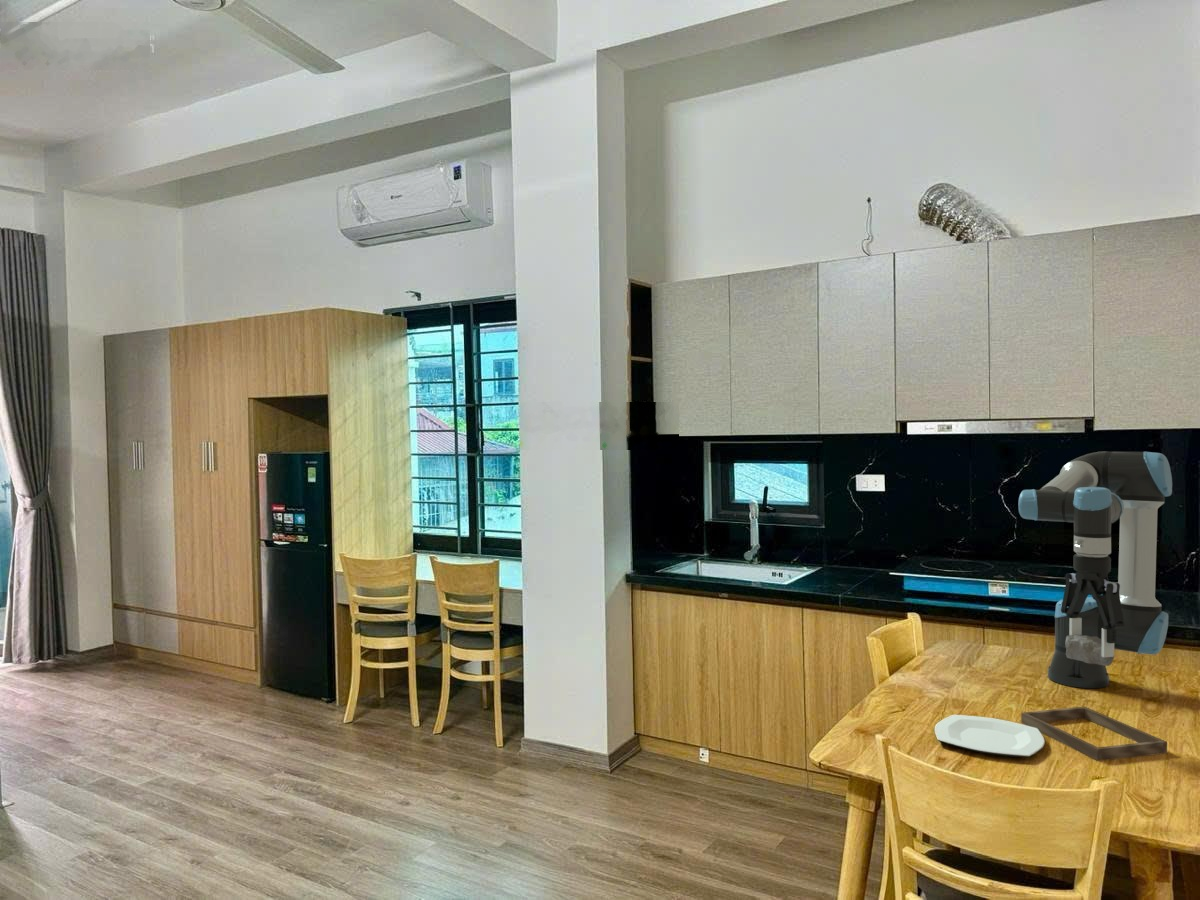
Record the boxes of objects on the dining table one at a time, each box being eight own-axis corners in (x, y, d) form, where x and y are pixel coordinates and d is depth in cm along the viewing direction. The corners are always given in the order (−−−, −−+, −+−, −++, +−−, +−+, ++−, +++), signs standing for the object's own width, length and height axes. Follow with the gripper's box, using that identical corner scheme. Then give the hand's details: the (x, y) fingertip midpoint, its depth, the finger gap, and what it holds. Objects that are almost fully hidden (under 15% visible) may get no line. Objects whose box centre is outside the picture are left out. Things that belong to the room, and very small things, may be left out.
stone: (1114, 668, 195) (1114, 643, 194) (1065, 664, 199) (1064, 639, 199) (1114, 659, 202) (1113, 634, 201) (1065, 655, 206) (1065, 630, 206)
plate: (1039, 769, 184) (1039, 760, 184) (925, 748, 196) (925, 740, 196) (1048, 735, 203) (1048, 726, 203) (944, 718, 215) (944, 710, 215)
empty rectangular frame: (1084, 716, 214) (1084, 706, 214) (1166, 753, 191) (1167, 741, 191) (1021, 722, 211) (1021, 712, 210) (1097, 760, 187) (1097, 749, 187)
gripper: (1044, 548, 209) (1043, 640, 210) (1115, 563, 188) (1114, 665, 188) (1070, 546, 210) (1070, 637, 211) (1144, 561, 189) (1143, 662, 190)
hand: (1091, 650), depth 200 cm, fingers closed on stone, 9 cm apart
